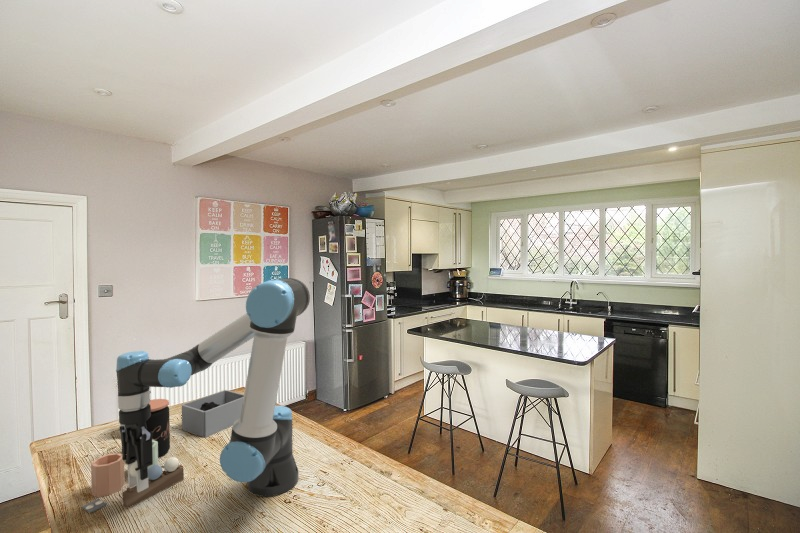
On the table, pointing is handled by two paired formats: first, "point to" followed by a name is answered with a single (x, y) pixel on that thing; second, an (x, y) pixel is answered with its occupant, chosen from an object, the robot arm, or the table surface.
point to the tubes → (110, 476)
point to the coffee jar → (160, 424)
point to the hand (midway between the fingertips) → (138, 487)
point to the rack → (152, 487)
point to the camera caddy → (212, 413)
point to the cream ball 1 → (133, 469)
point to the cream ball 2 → (171, 464)
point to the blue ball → (154, 472)
